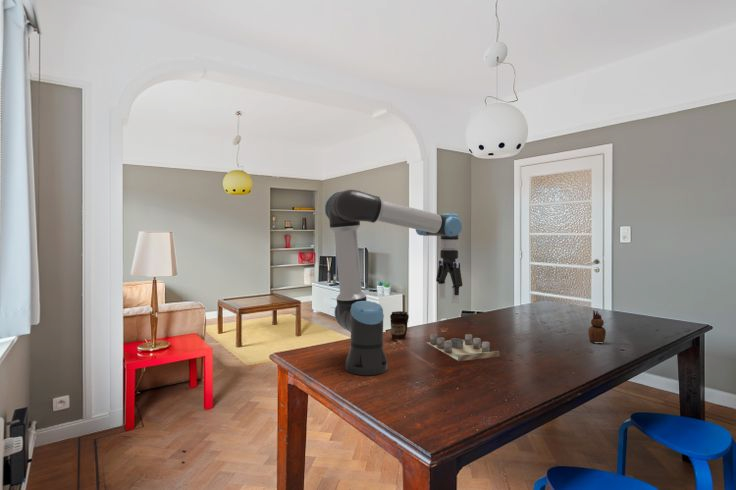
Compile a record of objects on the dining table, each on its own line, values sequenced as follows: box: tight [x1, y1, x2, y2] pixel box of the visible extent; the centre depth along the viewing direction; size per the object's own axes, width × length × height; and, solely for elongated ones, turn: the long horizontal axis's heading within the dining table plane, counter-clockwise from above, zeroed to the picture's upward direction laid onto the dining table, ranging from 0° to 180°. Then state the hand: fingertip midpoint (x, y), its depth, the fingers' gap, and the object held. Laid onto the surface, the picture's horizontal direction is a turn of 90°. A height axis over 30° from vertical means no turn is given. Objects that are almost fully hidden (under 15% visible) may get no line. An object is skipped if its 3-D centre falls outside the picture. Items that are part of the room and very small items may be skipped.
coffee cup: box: [389, 310, 409, 343], centre depth 182 cm, size 9×8×13 cm
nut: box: [450, 337, 464, 349], centre depth 168 cm, size 6×5×3 cm
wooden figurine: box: [587, 309, 607, 343], centre depth 182 cm, size 7×6×15 cm
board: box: [426, 333, 500, 362], centre depth 165 cm, size 18×26×6 cm
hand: (448, 300), depth 175 cm, fingers open, 10 cm apart
